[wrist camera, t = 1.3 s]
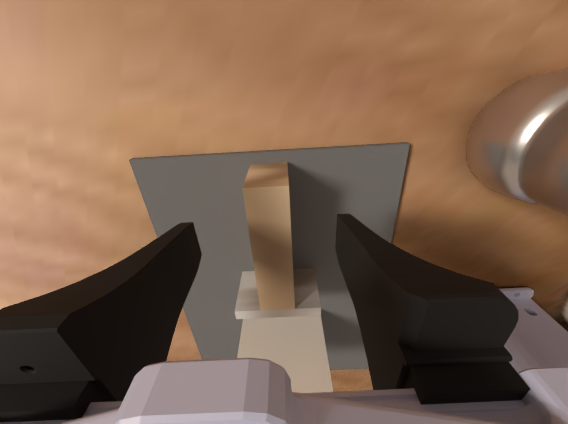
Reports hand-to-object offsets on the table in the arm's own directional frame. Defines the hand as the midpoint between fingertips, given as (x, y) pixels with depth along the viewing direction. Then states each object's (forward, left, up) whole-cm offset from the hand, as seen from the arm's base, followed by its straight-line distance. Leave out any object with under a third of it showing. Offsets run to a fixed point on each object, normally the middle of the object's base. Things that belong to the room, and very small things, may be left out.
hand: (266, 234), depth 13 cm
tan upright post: (0, +4, -5) cm, 6 cm away
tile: (0, +13, -5) cm, 14 cm away
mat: (0, +10, -6) cm, 11 cm away
